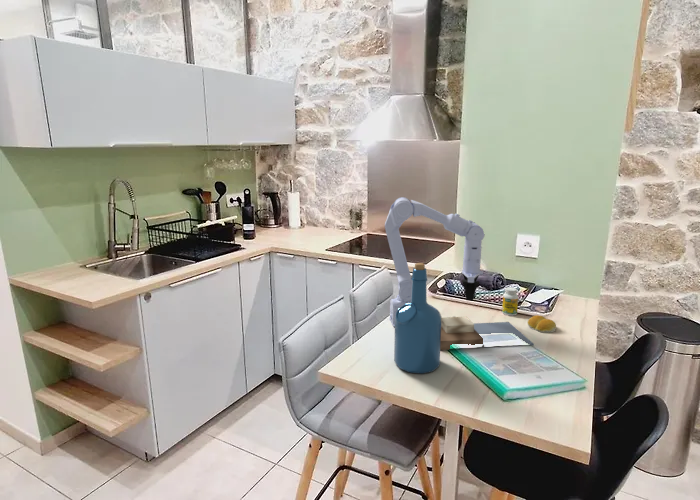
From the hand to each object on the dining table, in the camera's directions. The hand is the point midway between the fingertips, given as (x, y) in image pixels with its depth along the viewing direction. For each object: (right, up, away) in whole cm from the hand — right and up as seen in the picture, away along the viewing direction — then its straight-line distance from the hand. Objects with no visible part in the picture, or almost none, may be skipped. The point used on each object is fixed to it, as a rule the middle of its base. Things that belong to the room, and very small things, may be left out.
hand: (469, 296), depth 156 cm
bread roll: (+24, -11, -1) cm, 27 cm away
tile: (-7, -9, -9) cm, 15 cm away
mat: (+7, -12, -7) cm, 16 cm away
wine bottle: (-22, -17, -26) cm, 39 cm away
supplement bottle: (+18, -8, +12) cm, 23 cm away
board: (-8, -12, -9) cm, 17 cm away
